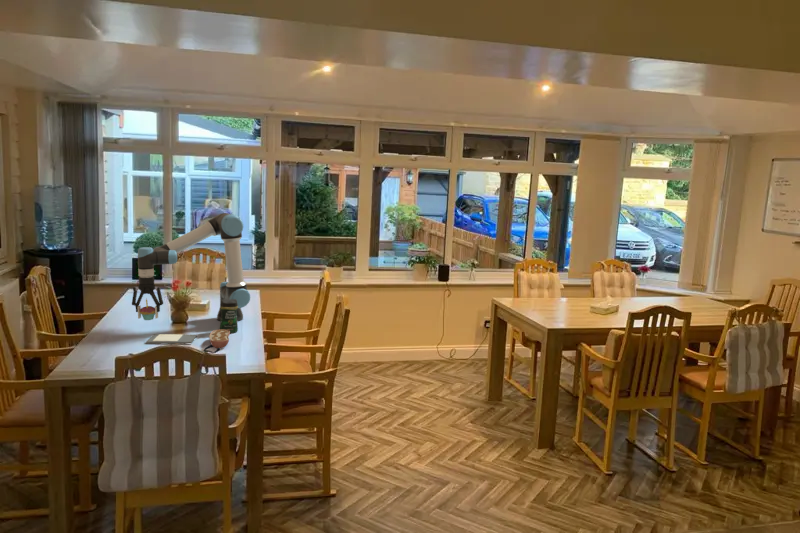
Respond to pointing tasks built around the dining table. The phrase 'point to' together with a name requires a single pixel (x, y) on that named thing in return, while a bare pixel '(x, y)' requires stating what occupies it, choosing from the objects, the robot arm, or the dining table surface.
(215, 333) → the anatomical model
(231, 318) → the coffee jar
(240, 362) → the dining table surface
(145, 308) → the cupcake
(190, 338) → the board
